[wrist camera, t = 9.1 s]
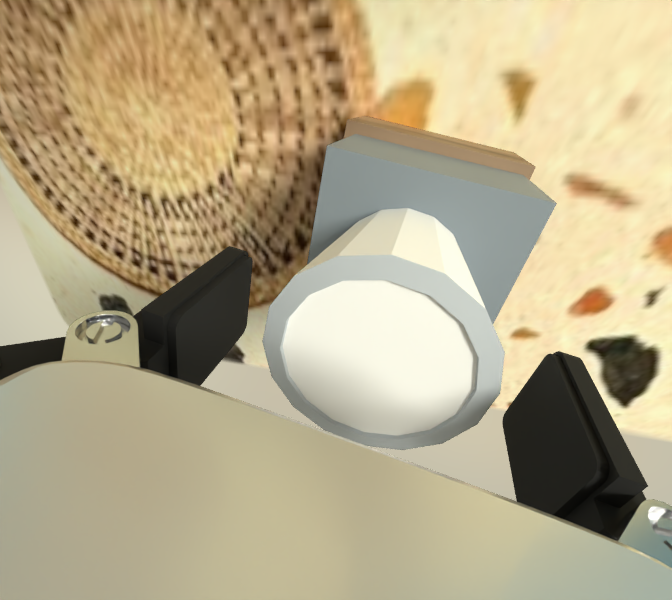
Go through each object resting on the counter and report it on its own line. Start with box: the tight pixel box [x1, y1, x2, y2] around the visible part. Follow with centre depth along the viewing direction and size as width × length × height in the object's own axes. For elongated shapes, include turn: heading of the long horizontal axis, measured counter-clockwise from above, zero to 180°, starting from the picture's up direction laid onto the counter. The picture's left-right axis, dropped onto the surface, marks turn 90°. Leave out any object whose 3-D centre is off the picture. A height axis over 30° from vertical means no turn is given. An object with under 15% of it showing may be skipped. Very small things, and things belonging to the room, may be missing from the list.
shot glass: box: [263, 208, 505, 450], centre depth 13 cm, size 7×7×7 cm
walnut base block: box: [344, 116, 535, 180], centre depth 24 cm, size 10×10×6 cm
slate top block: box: [307, 134, 557, 324], centre depth 19 cm, size 9×9×6 cm
